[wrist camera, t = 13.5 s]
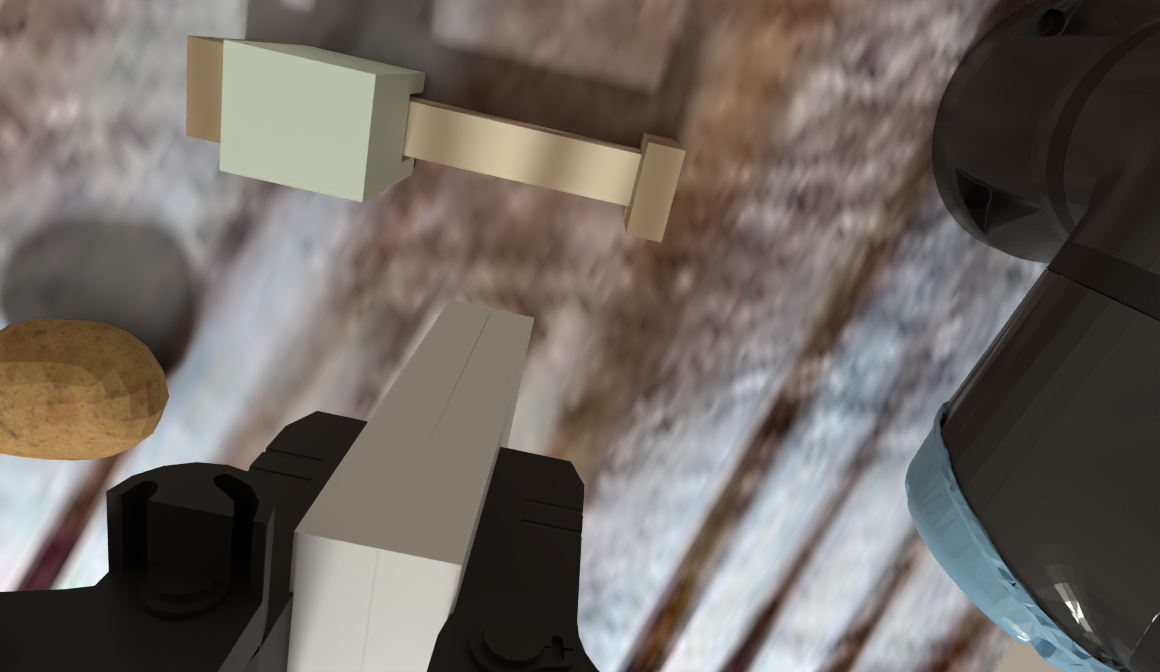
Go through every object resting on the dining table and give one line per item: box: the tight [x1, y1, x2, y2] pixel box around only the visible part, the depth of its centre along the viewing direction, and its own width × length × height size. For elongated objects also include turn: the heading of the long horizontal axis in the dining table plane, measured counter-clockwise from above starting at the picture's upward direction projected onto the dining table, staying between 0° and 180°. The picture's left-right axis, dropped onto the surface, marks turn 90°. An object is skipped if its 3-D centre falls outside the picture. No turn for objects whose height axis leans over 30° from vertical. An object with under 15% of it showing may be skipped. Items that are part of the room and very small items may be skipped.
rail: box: [186, 36, 686, 242], centre depth 40 cm, size 26×5×6 cm, turn 78°
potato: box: [0, 319, 169, 460], centre depth 45 cm, size 10×14×8 cm
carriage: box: [220, 40, 426, 202], centre depth 38 cm, size 7×6×10 cm
